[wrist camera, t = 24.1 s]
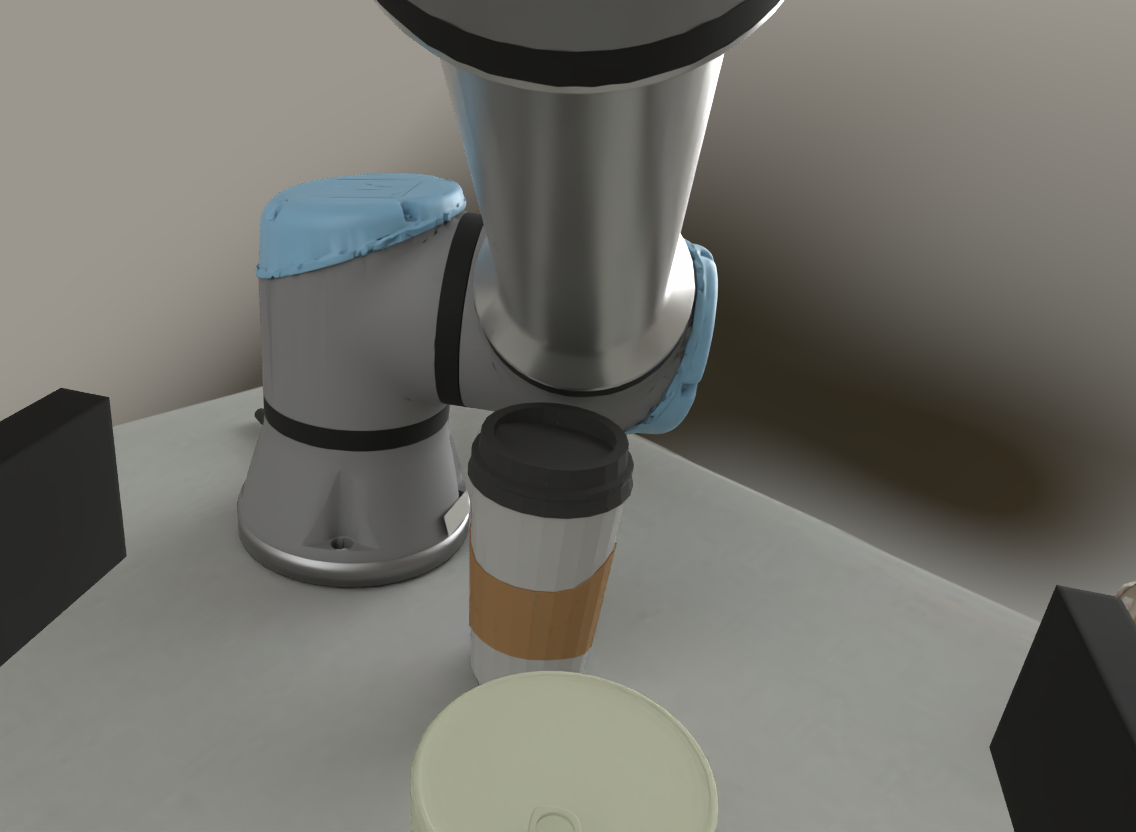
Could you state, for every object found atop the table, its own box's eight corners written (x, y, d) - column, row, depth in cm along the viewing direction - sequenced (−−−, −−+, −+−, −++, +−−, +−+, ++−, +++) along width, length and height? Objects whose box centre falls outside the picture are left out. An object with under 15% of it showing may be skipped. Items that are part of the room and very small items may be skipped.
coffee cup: (487, 608, 57) (508, 385, 50) (617, 648, 55) (656, 421, 48) (426, 696, 49) (441, 448, 43) (574, 745, 47) (613, 493, 41)
